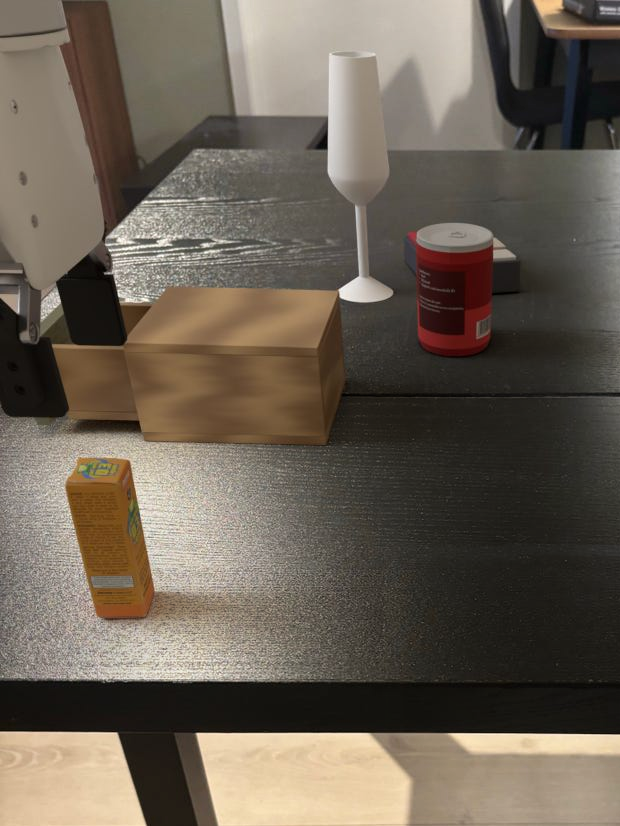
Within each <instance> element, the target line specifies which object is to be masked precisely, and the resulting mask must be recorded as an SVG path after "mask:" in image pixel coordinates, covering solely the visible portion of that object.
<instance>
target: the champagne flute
mask: <svg viewBox="0 0 620 826" xmlns="http://www.w3.org/2000/svg"><path fill="white" fill-rule="evenodd" d="M379 80H380V78H379V70H378V62H377V54H376V53H374V52H371V51H364V50H363V51H362V50H361V51H360V50H339V51H332V52H330V53H329V54H328V101H327V102H328V103H327V104H328V107H327V109H328V110H327V111H328V112H327V117H328V118H327V175H328V178H329V179H330V181H331V183H332V185H333V186H334V187H335V188H336V190H337V191H338V192H339V193H340V194H341V195H342V196H343V197H344V198H345V199H346V200H347V201H348V202H350V203H352V204H353V205H354V210H355V223H356V224H355V225H356V244H357V263H358V276H357V277H355V278H354V279H352V280H351V281H349V282H348V283H346V284H345V285H343V286H342V287H340V288H339V289H337V291H339V294H340V299H341V300H344V301H348V302H354V303H376V302H382V301H385V300H388V299H389V298H392V296H393V295H394V290H393V289H392V288H391V287H389V286H387V285H386V284H384V283H382V282H381V281H379V280H377V279H375V278H374V277H372V276H370V264H369V247H368V246H369V244H368V243H369V242H368V241H369V240H368V223H367V204H369V203H371V202H372V201H373V200H374V199H375V198H376V196H378V194H380V192H381V191H382V190H383V189H384V187H385V185H386V184H387V182H388V179H389V177H390V164H389V155H388V147H387V137H386V130H385V129H386V128H385V121H384V112H383V111H384V110H383V105H382V97H381V87H380V86H381V85H380V81H379Z"/></svg>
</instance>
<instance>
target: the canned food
mask: <svg viewBox="0 0 620 826" xmlns="http://www.w3.org/2000/svg"><path fill="white" fill-rule="evenodd" d="M416 232H417V239H416V266H417V275H416V296H417V297H416V303H417V304H416V305H417V307H416V308H417V309H416V310H417V336H418V340H419V343H420V346H421V347H422V348H423V349H424V350H426V351H427V352H429V353H432V354H434V355H438V356H442V357H443V356H444V357H469V356H471V355H475V354H478V353H480V352H482V351H484V350H486V348H487V347H488V345H489V343H490V339H491V333H492V330H491V329H492V306H493V305H492V302H493V293H492V278H493V238H494V234H493V232H492V231H491V230H490V229H488V228H485V227H483V226H480V225H477V224H471V223H464V222H444V223H443V222H442V223H436V224H431V225H427V226H424V227H422V228H420V229H419V230H418V231H416Z"/></svg>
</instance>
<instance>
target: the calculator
mask: <svg viewBox="0 0 620 826" xmlns="http://www.w3.org/2000/svg"><path fill="white" fill-rule="evenodd" d="M417 232H418V231H409V232H408V233H407V234H408V235H406V236H404V237H403V248H404V251H403V252H404V262H405V263H406V265H408V267H410V269H411V270H412V271H413V272H414V274H415V276H417V266H416V239H417ZM506 247H507V246H506V245H505V244H504V243H502V242H501V241H500V240H499V239H498V238H497V237H493V278H492V294H502V293H516V292H520V288H521V263H522V262H521V260H520V259H519V258H518V257H517V256H516V254H514V253H513V252H511V251H510V250H509V249H508V248H506Z"/></svg>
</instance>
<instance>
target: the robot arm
mask: <svg viewBox="0 0 620 826" xmlns="http://www.w3.org/2000/svg"><path fill="white" fill-rule="evenodd" d="M70 42H71V37H70V33H69V30H68V26H67V20H66V16H65V11H64V6H63V2H62V0H0V270H1V271H22V273H21V272H0V295H17V296H18V299H17V301H18V302H17V312H16V310H14V309H13V308H12V306H10V305H9V304H8V303H6V301H4V300H3V299H2V298H1V297H0V406H1V409H2V411H3V413H4V414H5V415H6V416H7V417H10V418H35V417H38V418H57V419H62V418H64V417H65V416H67V415H66V414H67V412H68V411H69V405H68V401H67V398H66V394H65V391H64V387H63V383H62V380H61V376H60V372H59V369H58V365H57V362H56V358H55V354H54V351H53V347H52V344H51V340H50V337H40V323H41V322H42V320H41V317H42V291H44V290H46V289H49V288H50V287H52V285H54V284H55V285H56V288H57V293H58V296H59V301H60V303H61V304H62V308H63V312H64V316H65V319H66V323H67V327H68V331H69V335H70V339H71V341H72V342H73V343H74V344H76V345H81V346H122V345H124V343H125V342H126V341H127V333H126V328H125V324H124V319H123V315H122V311H121V306H120V302H121V301H120V298H119V294H118V289H117V284H116V279H115V275H114V274H112V272H113V268H114V261H113V256H112V254H111V251H110V249H109V248H108V247H107V245H106V236H107V235H106V233H107V232H108V228H107V226H106V225H108V223H107V221H106V220H105V219H104V212H103V206H102V205H103V204H102V201H101V185H100V182H99V181H100V180H99V178H98V177H97V176H96V171H95V168H94V167H95V166H94V163H93V159H92V155H91V150H90V147H89V143H88V140H87V135H86V132H85V128H84V125H83V120H82V117H81V114H80V109H79V106H78V102H77V99H76V95H75V92H74V88H73V86H72V85H73V84H72V82H71V79H70V75H69V72H68V68H67V66H66V63H65V59H64V56H63V53H62V49H61V47H60V46H63V45H65V44H68V43H70ZM107 273H108V274H107Z"/></svg>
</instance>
